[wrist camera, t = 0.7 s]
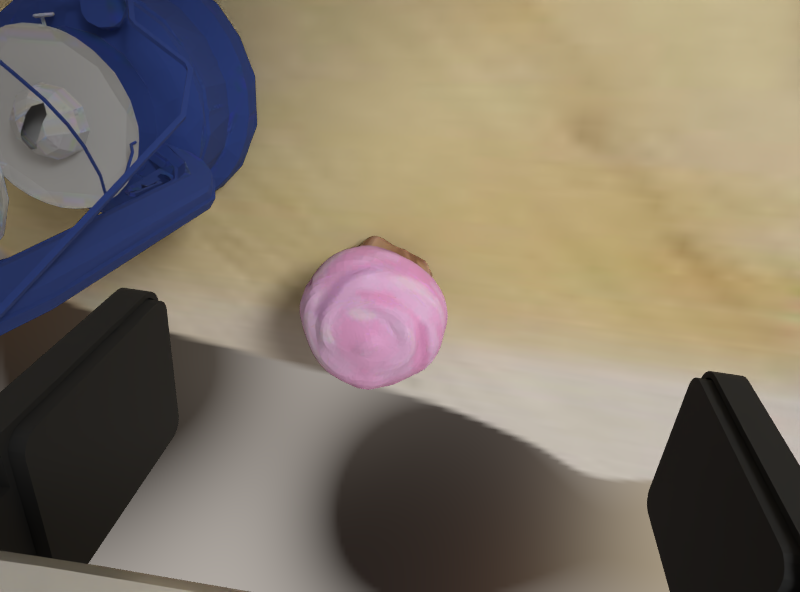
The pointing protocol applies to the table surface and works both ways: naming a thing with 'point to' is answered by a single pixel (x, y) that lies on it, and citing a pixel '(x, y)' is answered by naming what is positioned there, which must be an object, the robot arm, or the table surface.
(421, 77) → the table surface
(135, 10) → the lantern
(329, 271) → the cupcake
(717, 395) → the robot arm
